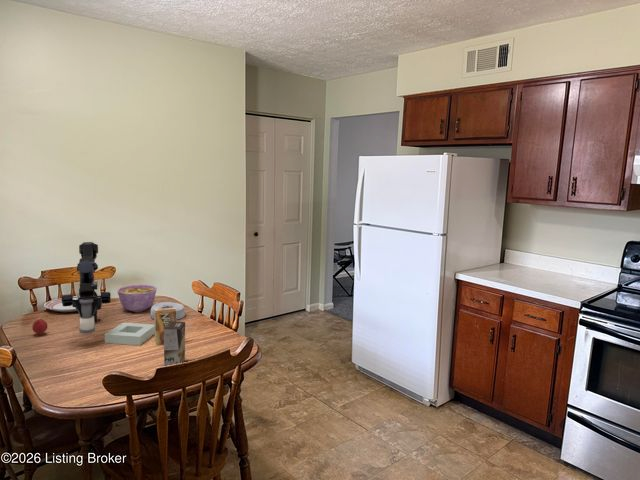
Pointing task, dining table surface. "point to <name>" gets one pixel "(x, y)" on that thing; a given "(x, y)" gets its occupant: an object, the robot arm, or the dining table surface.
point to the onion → (39, 326)
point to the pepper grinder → (86, 316)
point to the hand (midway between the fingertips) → (86, 316)
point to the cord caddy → (130, 334)
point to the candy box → (163, 322)
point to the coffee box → (174, 343)
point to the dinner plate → (59, 306)
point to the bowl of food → (137, 297)
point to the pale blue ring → (179, 308)
